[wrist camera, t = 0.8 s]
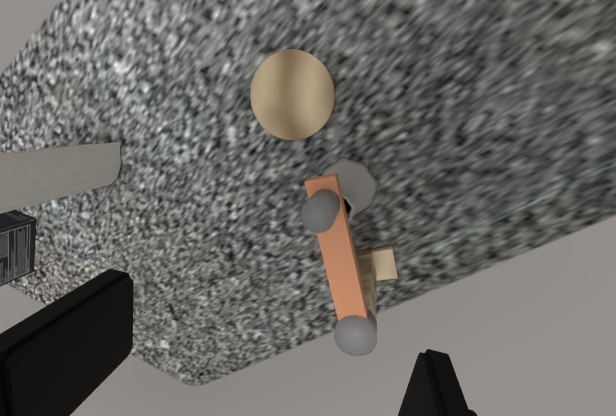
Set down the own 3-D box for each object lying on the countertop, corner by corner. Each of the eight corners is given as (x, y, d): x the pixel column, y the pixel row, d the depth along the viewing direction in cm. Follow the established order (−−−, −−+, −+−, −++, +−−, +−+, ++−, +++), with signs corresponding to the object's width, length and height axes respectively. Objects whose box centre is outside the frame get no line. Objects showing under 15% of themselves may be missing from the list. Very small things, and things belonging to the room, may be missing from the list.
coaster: (324, 39, 36) (322, 37, 35) (343, 129, 38) (342, 129, 37) (243, 64, 38) (240, 63, 38) (265, 147, 41) (263, 148, 40)
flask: (352, 226, 41) (345, 259, 32) (307, 192, 41) (286, 215, 32) (389, 182, 39) (393, 203, 29) (341, 146, 39) (329, 156, 29)
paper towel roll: (90, 185, 48) (-119, 238, 28) (79, 144, 46) (-151, 167, 26) (131, 184, 46) (-58, 239, 26) (122, 141, 45) (-87, 164, 24)
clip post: (392, 246, 41) (398, 302, 29) (397, 274, 42) (405, 340, 30) (330, 254, 43) (312, 310, 31) (337, 281, 44) (321, 346, 32)
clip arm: (344, 171, 26) (336, 183, 21) (380, 338, 30) (380, 380, 25) (302, 179, 27) (286, 193, 22) (341, 340, 31) (335, 382, 26)
